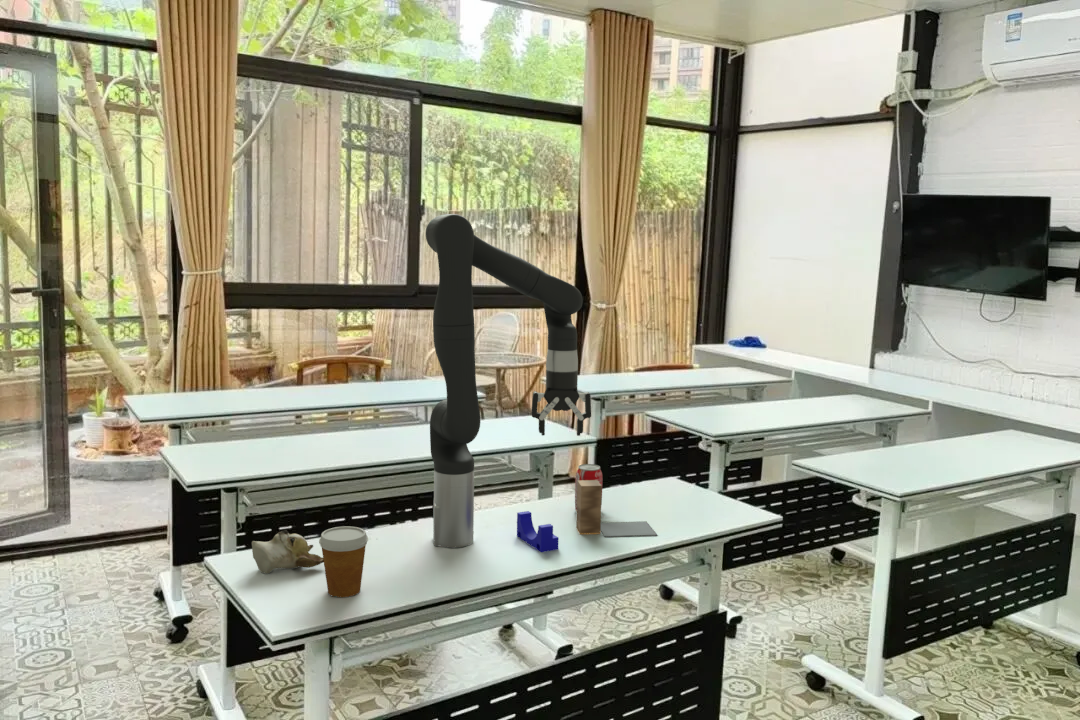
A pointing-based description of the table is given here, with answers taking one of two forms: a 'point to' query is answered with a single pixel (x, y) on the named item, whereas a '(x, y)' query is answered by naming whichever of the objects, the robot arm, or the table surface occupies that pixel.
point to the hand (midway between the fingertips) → (560, 435)
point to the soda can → (587, 476)
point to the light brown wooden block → (588, 506)
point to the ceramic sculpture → (284, 553)
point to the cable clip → (537, 540)
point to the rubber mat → (626, 529)
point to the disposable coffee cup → (343, 559)
